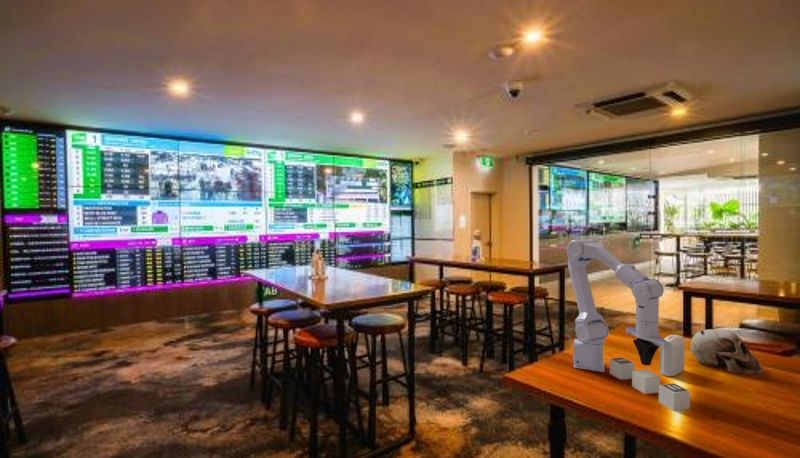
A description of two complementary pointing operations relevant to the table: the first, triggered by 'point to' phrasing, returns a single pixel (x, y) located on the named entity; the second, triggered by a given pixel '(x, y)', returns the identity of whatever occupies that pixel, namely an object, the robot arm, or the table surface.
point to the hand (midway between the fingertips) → (645, 364)
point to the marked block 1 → (621, 368)
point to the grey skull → (724, 351)
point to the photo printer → (673, 356)
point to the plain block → (645, 381)
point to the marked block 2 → (674, 397)
